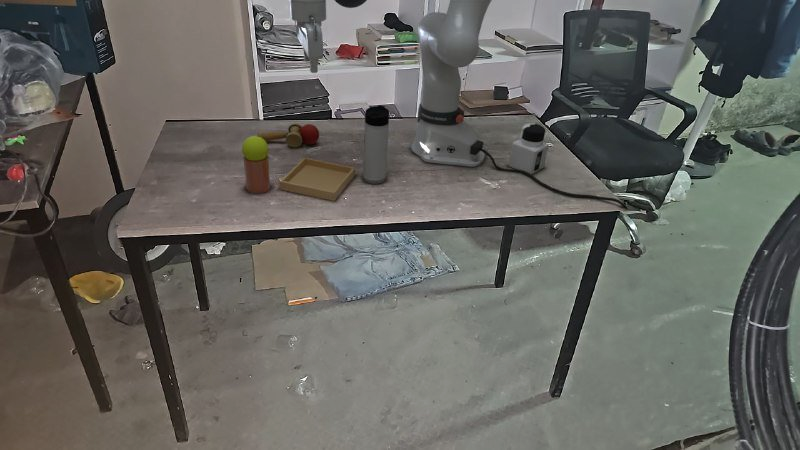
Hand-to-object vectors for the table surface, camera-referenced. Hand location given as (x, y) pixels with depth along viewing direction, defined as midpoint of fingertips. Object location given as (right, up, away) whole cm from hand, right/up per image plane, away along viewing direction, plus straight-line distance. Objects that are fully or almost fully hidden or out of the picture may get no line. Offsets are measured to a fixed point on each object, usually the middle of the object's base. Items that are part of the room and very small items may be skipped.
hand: (310, 66), depth 148 cm
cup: (-13, -32, -2) cm, 35 cm away
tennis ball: (-13, -23, -8) cm, 27 cm away
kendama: (-10, -17, +22) cm, 29 cm away
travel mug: (+16, -29, +6) cm, 34 cm away
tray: (+2, -30, +2) cm, 31 cm away
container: (+61, -25, +19) cm, 68 cm away
